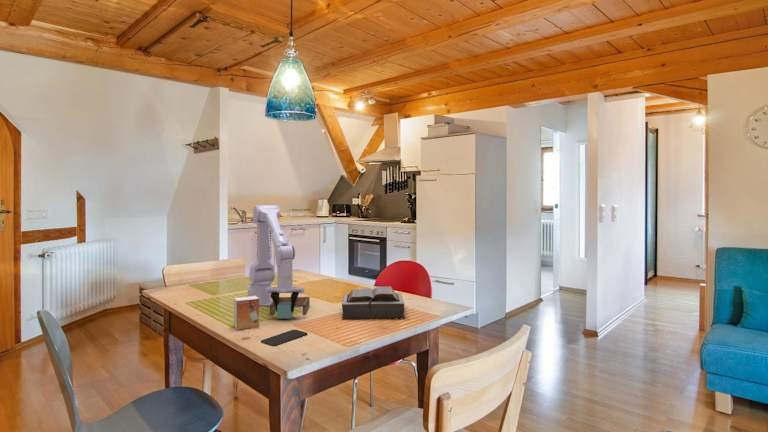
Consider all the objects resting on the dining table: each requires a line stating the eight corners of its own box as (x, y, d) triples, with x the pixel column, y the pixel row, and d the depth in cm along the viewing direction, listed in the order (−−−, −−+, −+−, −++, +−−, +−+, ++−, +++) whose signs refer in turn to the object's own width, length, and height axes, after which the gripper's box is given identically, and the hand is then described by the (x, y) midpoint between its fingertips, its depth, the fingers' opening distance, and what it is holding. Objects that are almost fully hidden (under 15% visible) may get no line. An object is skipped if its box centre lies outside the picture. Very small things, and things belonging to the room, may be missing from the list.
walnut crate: (269, 315, 172) (269, 305, 172) (276, 306, 186) (276, 297, 185) (305, 314, 173) (305, 304, 173) (309, 306, 186) (309, 296, 186)
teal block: (277, 318, 165) (277, 305, 165) (279, 314, 170) (279, 302, 170) (290, 318, 165) (290, 305, 165) (292, 314, 170) (292, 302, 170)
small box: (236, 330, 153) (235, 300, 152) (233, 326, 158) (233, 297, 157) (259, 327, 156) (259, 298, 156) (256, 323, 161) (256, 295, 161)
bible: (402, 324, 162) (403, 297, 162) (332, 320, 166) (332, 295, 166) (408, 307, 186) (408, 285, 185) (346, 305, 190) (346, 282, 189)
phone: (259, 340, 141) (294, 329, 153) (259, 343, 141) (294, 331, 153) (273, 345, 136) (308, 333, 149) (274, 348, 137) (309, 335, 149)
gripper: (263, 278, 162) (263, 314, 163) (302, 278, 163) (302, 314, 164) (267, 275, 169) (267, 309, 170) (305, 275, 170) (305, 309, 171)
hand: (285, 311), depth 167 cm, fingers closed on teal block, 5 cm apart
